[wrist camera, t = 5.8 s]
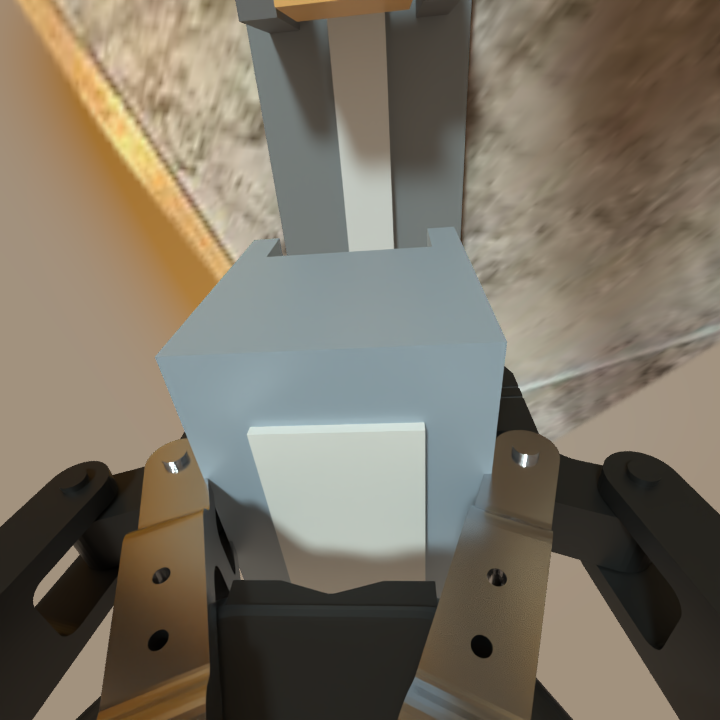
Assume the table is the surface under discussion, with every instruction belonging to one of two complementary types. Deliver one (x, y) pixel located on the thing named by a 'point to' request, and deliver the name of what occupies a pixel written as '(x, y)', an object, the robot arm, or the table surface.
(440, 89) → the rail mount
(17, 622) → the robot arm
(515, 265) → the table surface
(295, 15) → the button
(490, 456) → the rail module
